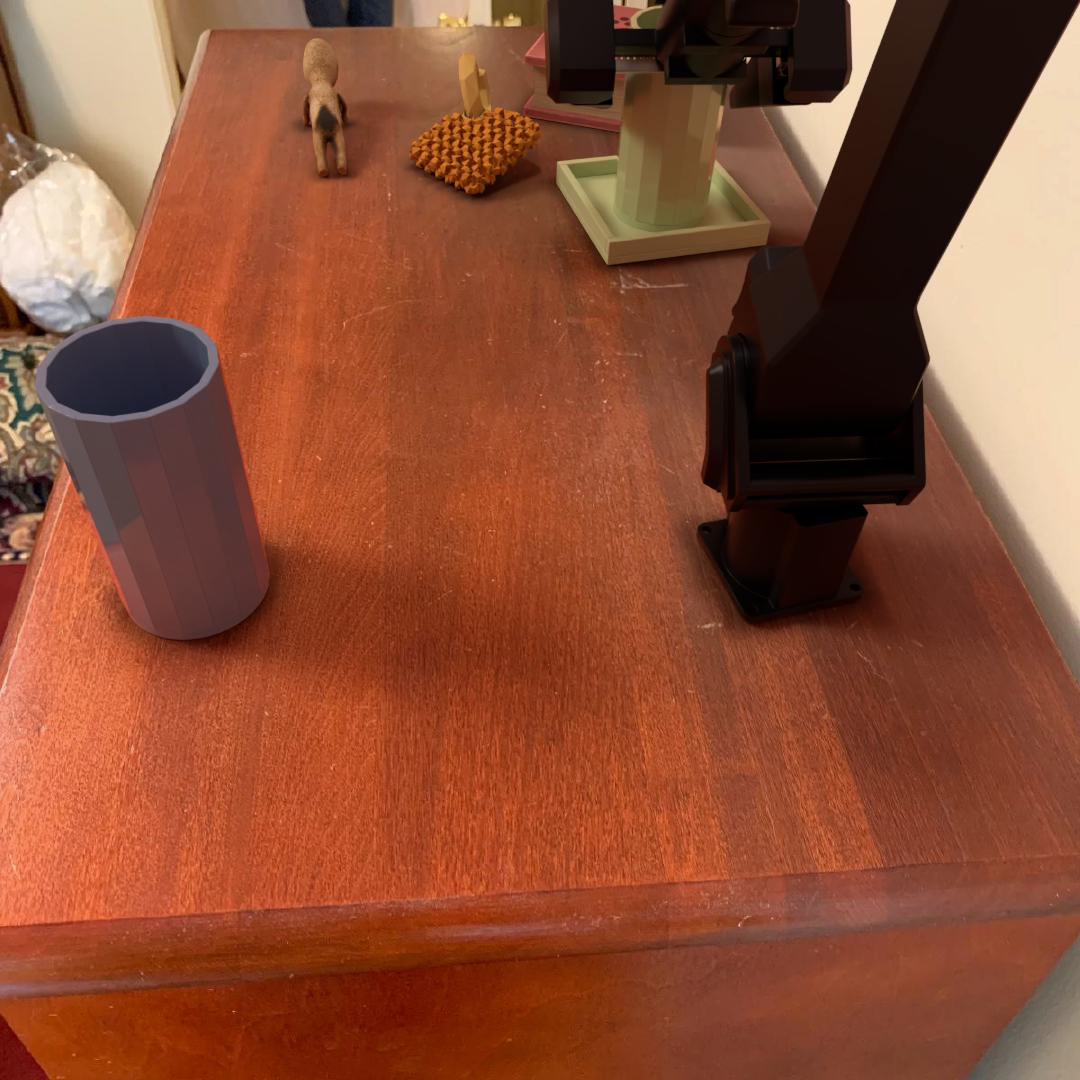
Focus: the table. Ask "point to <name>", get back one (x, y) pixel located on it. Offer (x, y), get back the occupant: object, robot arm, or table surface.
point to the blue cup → (159, 471)
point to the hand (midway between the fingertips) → (667, 101)
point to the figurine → (324, 104)
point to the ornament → (474, 136)
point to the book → (567, 113)
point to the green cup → (665, 147)
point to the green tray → (721, 229)
